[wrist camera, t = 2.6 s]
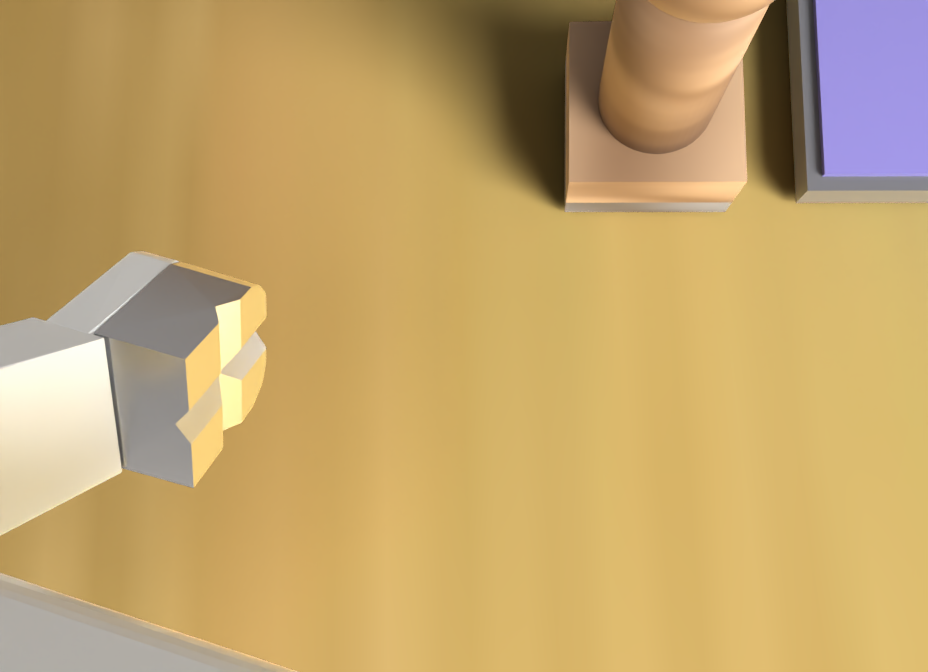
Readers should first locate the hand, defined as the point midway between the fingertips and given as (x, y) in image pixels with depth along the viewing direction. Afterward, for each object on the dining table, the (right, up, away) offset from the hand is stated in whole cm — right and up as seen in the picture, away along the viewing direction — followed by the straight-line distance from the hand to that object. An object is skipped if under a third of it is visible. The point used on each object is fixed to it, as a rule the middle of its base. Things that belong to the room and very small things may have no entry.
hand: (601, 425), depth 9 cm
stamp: (+4, +7, +15) cm, 17 cm away
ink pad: (+11, +9, +15) cm, 20 cm away
